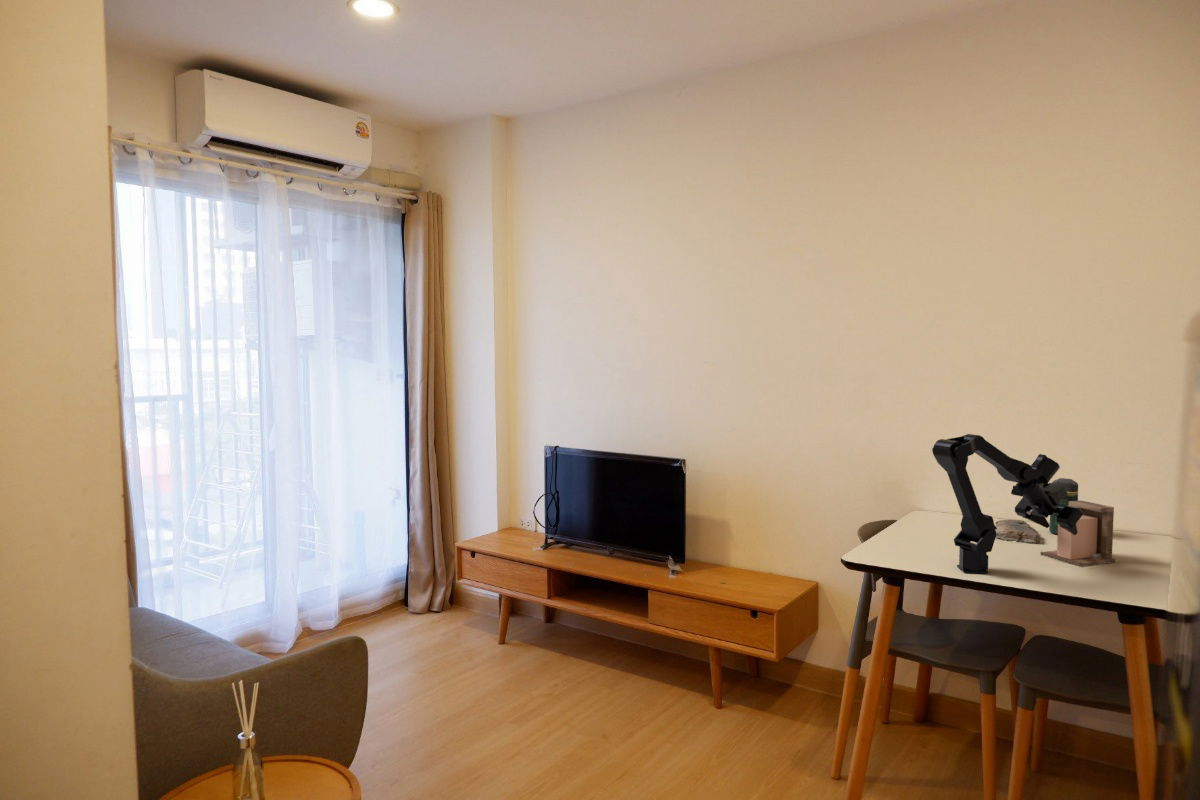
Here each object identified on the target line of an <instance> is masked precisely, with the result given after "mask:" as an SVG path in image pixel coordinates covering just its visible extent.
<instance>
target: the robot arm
mask: <svg viewBox="0 0 1200 800" xmlns="http://www.w3.org/2000/svg"><path fill="white" fill-rule="evenodd" d="M931 452H932V455H933V457H934V458H935V461H936V462H937V464H938V465H939V466H940V467H941V468H942V469H943V470H944V471H945V472H946V474H947V476H948V479H949V481H950V484H951V487H952V490H953V492H954V495H955V498H956V500H957V503H958V507H959V510H960V512H961V515H962V518H961V521H960V528H961V530H960V531H959V532H958V533H957V535H956V536H954V538H953V543H954V546H955V547H959V551H958V552H959V555H958V556H959V559H958V564H957V565H956V567H957V569H959V570H961V571H962V572H963V573H965V574H989V572H990V571H988V570H989V555H988V553H991V552H992V551H993V546H994V543H995V541H996V539H997V538H996V530H995V529H997V528H996V527H995V525H996V524H995V522H994V521H995V520H994V518H993V516H991V515H989V514H988V515H987V514H985V513H983V512H982V509H981V507H980V504H979V501H978V498H977V495H976V493H975V490H974V487H973V484H972V482H971V478H970V475H969V473H968V470H967V464H968V461H969V457H970V456H973V455H974V454H976V455H978V456H979V457H980V458H982V459H983V460H985V461H986V462H988V463H989V464H991V465H992V466H993V467H994V468H995V469H996V471H997V473H998V475H1000V477H1001V478H1003V479H1004V480H1005V481H1008V482H1012V483H1016V484H1015V485H1013V486H1012V489H1011V492H1010V494H1011V495H1013V496H1018V497H1021V499H1020V500H1019V501H1018V503H1017V504H1016V505H1015V507H1014V512H1015V514H1016V515H1017V516H1020V517H1021V518H1023V519H1025V520H1028V521H1030V522H1033V523H1034V524H1037V525H1039V526H1041V527H1044V528H1046V529H1048V528H1049V526H1050V525H1049V524H1050V522H1048V519H1047V518H1049V517H1050V515H1054V516H1057V519H1056V522H1057V523H1058V524H1059V525H1060V527H1062V528H1063V529H1065V530H1067V531H1068V532H1070V533H1072V534H1073V535H1076V534H1077V533H1078V532H1077V526H1076V523H1077V522H1078V520H1079V519H1080V518H1081V516H1082V515H1083V512H1082V511H1081V509H1080V508H1078V507H1073V506H1065V507H1064V508H1063V509H1061V508H1056V506H1058V505H1059V504H1060V502H1059V500H1061V499H1062V498H1064V497H1066V496H1068V493H1067V490H1066V487H1065V485H1063V484H1058V483H1052V482H1050V481H1051V479H1052V478H1053V477H1054V476H1055V475H1056V473H1057V472H1058V471H1059V470H1060V464H1059V463H1058V462H1057V461H1056V460H1054V459H1051V458H1050V457H1048V456H1047V455H1046V454H1041V453H1039V454H1038V455H1037V456H1036V459H1035V460H1034V461H1033V462H1032V464H1031V465H1030V464H1029V463H1026V462H1024V461H1021V460H1020V459H1015V458H1012V457H1010V456H1009V455H1007V454H1006V453H1005V452H1003V451H1002V450H1000V449H998V448H997V447H996V446H995V445H993V444H991V443H990V442H989V441H988V440H986V439H985V438H984V437H983V436H982V435H979V434H972V433H967V434H964V435H960V436H957V437H951V438H947V439H944V438H941V439H938V440H936V442H935V443H933V446H932V448H931Z"/></svg>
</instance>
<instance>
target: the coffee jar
mask: <svg viewBox="0 0 1200 800" xmlns="http://www.w3.org/2000/svg"><path fill="white" fill-rule="evenodd" d="M1051 483H1058V484H1063V485H1065V487H1066V490H1067V493H1068V496H1066V497H1064V498H1062V499H1061V500H1059V502H1060V504H1059V505H1058V506H1056V508H1061V509H1063V508H1064V507H1065V506H1069V501H1079V482H1077V481H1076V480H1073V479H1072V478H1064V477H1059V478H1058V479H1055V480H1053V481H1052V482H1051ZM1056 519H1057V516H1054V515H1049V525H1050V526H1049V527H1048V528H1049V532H1050V533H1051V534H1055V535H1058V523H1057V522H1056Z"/></svg>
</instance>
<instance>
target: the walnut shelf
mask: <svg viewBox="0 0 1200 800" xmlns="http://www.w3.org/2000/svg"><path fill="white" fill-rule="evenodd" d="M1069 506H1073V507H1078V508H1080V509H1081V511H1082V512H1083V515H1086V516H1091V517H1095V518H1098V524H1097V550H1096V554H1092V557H1086V558H1077V559H1068V558H1064V557H1061V556H1058V555H1057V549H1056V550H1049V551H1040V554H1041V555H1040V556H1043V555H1044V556H1043V557H1046V556H1048V557H1047V558H1049V557H1050V559H1053V558H1054V559H1053V560H1056V559H1057V560H1056V561H1060V562H1063V563H1067V564H1071V565H1074V566H1076V567H1086V566H1096V565H1103V564H1102V563H1104V564H1110V563H1109V562H1112V563H1116V562H1117V559H1115V558H1113V542H1114V541H1113V539H1114V518H1115V517H1114V515H1115V511H1114V510H1115V508H1114V506H1112V505H1111V506H1110V505H1105V504H1100V503H1096V502H1091V501H1085V500H1078V501H1069ZM1095 564H1096V565H1095Z"/></svg>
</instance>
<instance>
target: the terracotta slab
mask: <svg viewBox="0 0 1200 800" xmlns="http://www.w3.org/2000/svg"><path fill="white" fill-rule="evenodd" d="M1097 524H1098V518H1095V517H1091V516H1086V515H1082V516H1081V518H1080V519H1079V520H1078V522H1077V523H1076V526H1077V532H1078V533H1077V534H1076V535H1073V534H1072V533H1070V532H1068V531H1067V530H1065V529H1063V528H1062V527H1060V525H1059V524H1058V534H1057V545H1056V550H1057V555H1058V556H1061V557H1064V558H1068V559H1077V558H1086V557H1092V554H1096V550H1097Z"/></svg>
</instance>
